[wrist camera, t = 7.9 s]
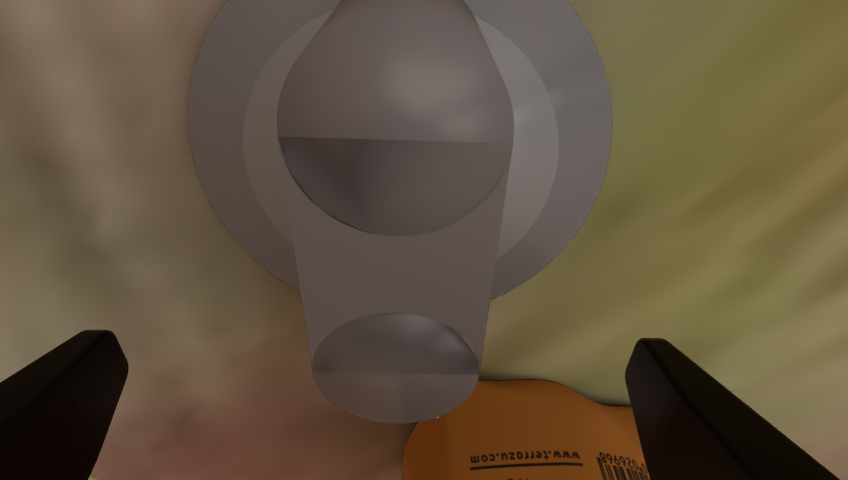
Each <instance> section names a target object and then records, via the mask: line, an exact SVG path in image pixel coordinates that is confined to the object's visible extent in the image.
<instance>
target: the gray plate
mask: <svg viewBox="0 0 848 480" xmlns="http://www.w3.org/2000/svg"><path fill="white" fill-rule="evenodd" d="M341 1H342V0H227V1H226V2H225V4H224V6H223V7H222V9H221V10H220V12H219V13H218V15H217V17H216V18H215V20H214V21H213V23H212V24H211V26H210V28H209V30H208V32H207V34H206V37H205V39H204V41H203V44H202V46H201V48H200V50H199V53H198V55H197V59H196V63H195V67H194V71H193V75H192V79H191V82H190V92H189V102H188V125H189V139H190V144H191V149H192V155H193V160H194V164H195V167H196V170H197V173H198V176H199V179H200V182H201V184H202V187H203V189H204V191H205V193H206V195H207V197H208V199H209V201H210V203H211V205H212V208H213V209H214V211H215V212H216V214H217V215H218V217H219V218H220V220H221V222H222V223H223V225H224V226H225V228H226V229H227V230H228V232H229V233H230V234H231V235H232V236H233V238H234V239H235V240H236V241H237V242H238V244H239V245H240V246H241V247H242V248H243V249H244V250H245V251H246V252H247V253H248V254H249V255H250V256H251V257H252V258H253V259H254V260H255V261H256V262H258V263H259V264H260V265H261V266H263V267H264V268H265V269H266V270H268V271H269V272H270V273H272V274H273V275H274V276H276V277H277V278H279V279H280V280H282V281H283V282H285V283H287V284H288V285H290V286H292V287H293V288H295V289H297V290H299V291H300V284H299V278H298V271H297V264H296V257H295V251H294V244H293V237H292V231H291V224H290V217H289V210H288V204H287V197H286V190H285V183H284V177H283V170H282V163H281V156H280V150H279V143H278V135H277V123H276V121H277V106H278V101H279V97H280V92H281V89H282V86H283V84H284V81H285V78H286V76H287V74H288V73H289V71H290V69H291V67H292V65H293V63H294V62H295V61H296V60H297V58H298V57H299V56H300V54H301V53H302V52H303V50H304V49H305V48H306V46H307V45H308V44H309V42H310V41H311V40H312V39H313V37H314V36H315V35H316V33H317V32H318V31H319V29H320V28H321V27H322V26H323V24H324V23H325V22H326V20H327V19H328V18H329V16H330V15H331V14H332V12H333V11H334V10H335V9H336V7H337V6H338V5H339V3H340V2H341ZM464 1H465V3H466V4H467V6H468V7H469V8H470V10H471V12H472V14H473V16H474V18H475V19H476V22H477V24H478V26H479V28H480V30H481V32H482V35H483V37H484V39H485V41H486V43H487V46H488V48H489V50H490V52H491V54H492V56H493V59H494V61H495V63H496V65H497V67H498V70H499V72H500V74H501V76H502V78H503V80H504V83H505V85H506V88H507V91H508V93H509V96H510V99H511V104H512V109H513V114H514V140H513V148H512V155H511V162H510V169H509V175H508V182H507V189H506V196H505V203H504V209H503V216H502V223H501V230H500V236H499V243H498V250H497V257H496V263H495V270H494V277H493V284H492V291H491V297H490V300H492V299H494V298H496V297H498V296H501V295H503V294H505V293H507V292H509V291H510V290H512V289H514V288H516V287H517V286H519V285H521V284H522V283H524V282H526V281H527V280H528V279H530V278H531V277H532V276H534V275H535V274H537V273H538V272H539V271H541V270H542V269H543V268H544V267H545V266H547V265H548V264H549V263H550V262H551V261H552V260H553V259H554V258H555V257H556V256H557V255H558V254H560V252H561V251H562V250H563V249H564V248H565V247H566V245H567V244H568V243H569V242H570V241H571V240H572V238H573V237H574V236H575V235H576V233H577V232H578V230H579V229H580V227H581V226H582V224H583V223H584V221H585V220H586V218H587V216H588V214H589V212H590V210H591V208H592V206H593V204H594V202H595V200H596V198H597V196H598V194H599V191H600V188H601V185H602V182H603V180H604V177H605V174H606V170H607V165H608V160H609V155H610V150H611V139H612V110H611V98H610V92H609V87H608V83H607V79H606V75H605V71H604V67H603V64H602V62H601V59H600V57H599V54H598V52H597V49H596V47H595V44H594V42H593V40H592V38H591V36H590V35H589V33H588V31H587V29H586V28H585V26H584V24H583V23H582V21H581V19H580V18H579V16H578V14H577V13H576V12H575V11H574V9H573V8H572V7H571V6H570V4H569V3H568V2H567V1H566V0H464Z"/></svg>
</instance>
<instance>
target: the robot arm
mask: <svg viewBox="0 0 848 480" xmlns="http://www.w3.org/2000/svg"><path fill="white" fill-rule="evenodd" d="M127 375H128V362H127V359H126V357H125V355H124V353H123V351H122V348H121V346H120V344H119V342H118V340H117V338H116V336H115V334H114V333H113V332H111V331H109V330H84V331H82V332H80V333H78V334H77V335H75V336H73V337H72V338H70V339H69V340H67V341H66V342H64V343H62V344H61V345H59V346H58V347H56V348H54V349H53V350H51V351H50V352H48V353H46V354H45V355H43V356H42V357H40V358H39V359H37V360H35V361H34V362H32V363H31V364H29V365H27V366H26V367H24V368H23V369H21V370H20V371H18V372H16V373H15V374H13V375H12V376H10V377H8V378H7V379H5V380H4V381H2V382H0V480H88V478H89V476H90V474H91V472H92V470H93V468H94V465H95V463H96V461H97V458H98V456H99V453H100V451H101V448H102V446H103V443H104V440H105V437H106V434H107V432H108V429H109V426H110V423H111V420H112V418H113V415H114V412H115V409H116V407H117V404H118V401H119V398H120V395H121V393H122V390H123V387H124V384H125V382H126V379H127ZM625 380H626V385H627V390H628V394H629V398H630V402H631V406H632V411H633V415H634V419H635V423H636V427H637V432H638V436H639V440H640V444H641V448H642V452H643V456H644V460H645V464H646V467H647V470H648V473H649V476H650V479H651V480H840V479H839V478H837V477H836V476H835V475H834V474H832V473H831V472H830V471H829V470H827V469H826V468H825V467H824V466H822V465H821V464H820V463H819V462H817V461H816V460H815V459H814V458H812V457H811V456H810V455H809V454H808V453H806V452H805V451H804V450H803V449H801V448H800V447H799V446H798V445H796V444H795V443H794V442H793V441H791V440H790V439H789V438H788V437H786V436H785V435H784V434H783V433H781V432H780V431H779V430H778V429H776V428H775V427H774V426H773V425H771V424H770V423H769V422H768V421H766V420H765V419H764V418H763V417H761V416H760V415H759V414H758V413H757V412H755V411H754V410H753V409H752V408H750V407H749V406H748V405H747V404H745V403H744V402H743V401H742V400H740V399H739V398H738V397H737V396H735V395H734V394H733V393H732V392H730V391H729V390H728V389H727V388H725V387H724V386H723V385H722V384H720V383H719V382H718V381H717V380H715V379H714V378H713V377H712V376H710V375H709V374H708V373H707V372H706V371H704V370H703V369H702V368H701V367H699V366H698V365H697V364H696V363H694V362H693V361H692V360H691V359H689V358H688V357H687V356H686V355H684V354H683V353H682V352H681V351H679V350H678V349H677V348H676V347H674V346H673V345H672V344H671V343H669V342H668V341H667V340H665V339H661V338H641V339H640V340H638V341H637V343H636V345H635V347H634V350H633V352H632V355H631V357H630V360H629V362H628V365H627V368H626V372H625Z"/></svg>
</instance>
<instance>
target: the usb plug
mask: <svg viewBox="0 0 848 480" xmlns="http://www.w3.org/2000/svg"><path fill="white" fill-rule="evenodd" d="M276 123H277V135H278V143H279V150H280V156H281V163H282V170H283V177H284V183H285V190H286V197H287V204H288V210H289V217H290V224H291V231H292V237H293V244H294V251H295V257H296V264H297V271H298V278H299V284H300V291H301V298H302V305H303V311H304V318H305V325H306V332H307V338H308V345H309V352H310V359H311V365H312V372H313V376H314V380H315V382H316V384H317V386H318V388H319V389H320V391H321V392H322V394H323V395H324V396H325V397H326V398H327V399H328V400H329V401H330V402H331V403H333V404H334V405H335V406H337V407H338V408H340V409H341V410H343V411H345V412H347V413H349V414H352V415H354V416H356V417H359V418H363V419H366V420H370V421H375V422H381V423H392V424H405V423H415V422H421V421H426V420H429V419H433V418H439V416H441V415H444V414H446V413H448V412H450V411H451V410H453V409H455V408H456V407H458V406H459V405H460V404H461V403H463V402H464V401H465V400H466V399H467V398H468V397H469V396H470V394H471V393H472V391H473V390H474V388H475V386H476V384H477V381H478V377H479V372H480V365H481V358H482V351H483V345H484V338H485V331H486V324H487V318H488V311H489V304H490V297H491V291H492V284H493V277H494V270H495V263H496V257H497V250H498V243H499V236H500V230H501V223H502V216H503V209H504V203H505V196H506V189H507V182H508V175H509V169H510V162H511V155H512V148H513V140H514V114H513V109H512V104H511V99H510V96H509V93H508V91H507V88H506V85H505V83H504V80H503V78H502V76H501V74H500V72H499V70H498V67H497V65H496V63H495V61H494V59H493V56H492V54H491V52H490V50H489V48H488V46H487V43H486V41H485V39H484V37H483V35H482V32H481V30H480V28H479V26H478V24H477V22H476V19H475V18H474V16H473V14H472V12H471V10H470V8H469V7H468V6H467V4H466V3H465V1H464V0H342V1H341V2H340V3H339V5H338V6H337V7H336V9H335V10H334V11H333V12H332V14H331V15H330V16H329V18H328V19H327V20H326V22H325V23H324V24H323V26H322V27H321V28H320V29H319V31H318V32H317V33H316V35H315V36H314V37H313V39H312V40H311V41H310V42H309V44H308V45H307V46H306V48H305V49H304V50H303V52H302V53H301V54H300V56H299V57H298V58H297V60H296V61H295V62H294V63H293V65H292V67H291V69H290V71H289V73H288V74H287V76H286V78H285V81H284V84H283V86H282V89H281V92H280V97H279V101H278V106H277V121H276Z"/></svg>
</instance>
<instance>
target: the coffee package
mask: <svg viewBox="0 0 848 480" xmlns="http://www.w3.org/2000/svg"><path fill="white" fill-rule="evenodd" d="M402 480H651V479H650V476H649V473H648V470H647V467H646V464H645V460H644V456H643V452H642V448H641V444H640V440H639V436H638V432H637V427H636V423H635V419H634V415H633V411H632V406H607V405H602V404H599V403H597V402H594V401H592V400H590V399H588V398H586V397H584V396H583V395H581V394H579V393H577V392H575V391H574V390H572V389H570V388H568V387H566V386H563V385H561V384H558V383H555V382H551V381H545V380H507V381H482V380H478V381H477V384H476V386H475V388H474V390H473V391H472V393H471V394H470V396H469V397H468V398H467V399H466V400H465V401H464V402H463V403H461V404H460V405H459V406H458V407H456V408H455V409H453V410H451V411H450V412H448V413H446V414H444V415H441V416H439V418H433V419H429V420H426V421H421V422H418V423H417V425H416V426H415V428H414V430H413V431H412V433H411V435H410V437H409V439H408V441H407V444H406V446H405V449H404V455H403V469H402Z"/></svg>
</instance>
